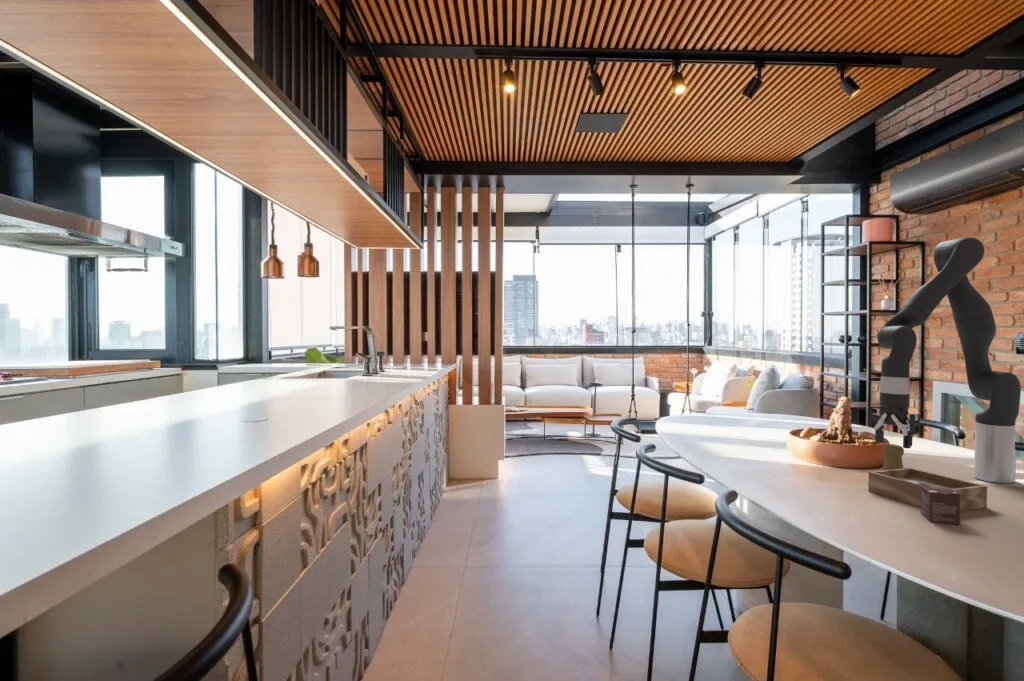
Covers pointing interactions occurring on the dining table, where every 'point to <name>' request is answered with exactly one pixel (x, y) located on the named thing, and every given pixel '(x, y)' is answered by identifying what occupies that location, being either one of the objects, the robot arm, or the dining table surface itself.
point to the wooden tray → (910, 483)
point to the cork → (893, 457)
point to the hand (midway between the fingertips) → (892, 445)
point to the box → (940, 504)
